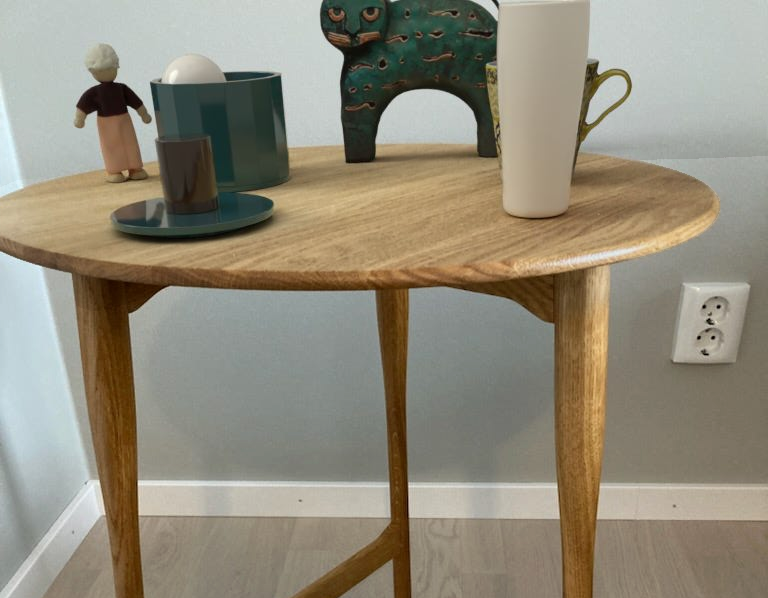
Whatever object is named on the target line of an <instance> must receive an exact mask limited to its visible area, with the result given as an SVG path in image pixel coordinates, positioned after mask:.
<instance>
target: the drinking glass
mask: <svg viewBox="0 0 768 598" xmlns="http://www.w3.org/2000/svg"><path fill="white" fill-rule="evenodd" d="M497 11H498V10H497ZM497 13H498V14H497V21H498V26H497V84H498V102H499V119H500V137H501V155H502V176H503V181H502V203H501V204H502V209H503V211H504V212H505V213H506V214H508V215H511V216H513V217H518V218H527V219H542V218H543V219H545V218H553V217H556V216H557V217H558V216H559V215H562V214H564V213H565V212H566V211H567V210H568V208H569V206H570V198H571V197H570V196H571V182H572V179H571V176H572V168H573V160H574V153H575V146H576V139H577V132H578V124H579V117H580V110H581V103H582V97H583V90H584V83H585V75H586V67H587V58H589V43H590V25H591V24H590V23H591V21H590V20H591V0H523V1H522V0H521V1H507V2H506V1H505V2H500V3H499V11H498V12H497Z"/></svg>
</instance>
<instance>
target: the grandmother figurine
mask: <svg viewBox="0 0 768 598" xmlns="http://www.w3.org/2000/svg"><path fill="white" fill-rule="evenodd" d="M84 66H85V67H86V70H87V71H88V73H90V74H91V76H92V77H93V79H94V80H96V81H97V82H98V83H99V84H95V85H93V86H91V87H89V88H88V89H86V90H85V91H84V92H83V93H82V95H81V96H80V98H79V99H78V101H77V103H76V105H75V107H76V110H75V118H74V119H73V125H74V127H75V128H77V129H83V128H85V124H86V122H85V121H86V120H87V117H88V115H91V114H94V113H96V127H97V133H98V138H99V145H100V150H101V154H102V159H103V162H104V166H105V170H106V175H105V178H104V181H105V182H108V183H122V182H125V181H127V177H125V175H124V174H123V172H125V171H128V177H129V179H131V180H144V179H146V178H147V177H148V172H147V171H146V169H145V168H144V163H143V159H142V158H143V157H142V153H141V149H140V144H139V141H138V137H137V133H136V129H135V126H134V123H133V119H132V116H131V114H130V111H129V108H128V107H130V108H131V109H133V110H134V111H135V112H136V114H137V115H138V116H139V117H140V118H141V119H140V120H141V121H142V123H143V124H145V125H149V124H151V123H152V122H153V117H152V116H151V114H150V113H149V112H148V110H147V107H146V106H145V104H144V101H143V100H142V99H141V98H140V97H139V95H137V93H136V92H135V91H134V89H132V88H131V87H130V86H128V85H127V84H126V83H124V82H117V81H115V80H116V78H117V77H118V69H120V58H119V56H118V54H117V53H116V51H115V49H114V48H113V46H112V45H109V44H108V43H100V42H99V43H97V44H94V45H92V46H91V48H89V49H88V50H87V52H86V54H85V57H84Z"/></svg>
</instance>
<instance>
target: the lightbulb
mask: <svg viewBox="0 0 768 598" xmlns="http://www.w3.org/2000/svg"><path fill="white" fill-rule="evenodd" d="M223 72H224V71H223V70H222V69H221V67H220V66H219V65H218V64H217V63H216V62H215V61H213V60H212V59H210V58H208V57H207V56H204V55H201V54H197V53H188V54H183V55H180V56H178V57H176V58H175V59H173V60H172V61H171V62H170V63H169V64H168V65H167V66H166V68H165V69H164V71H163V74H162V76H161V78H162V81H161V82H162V83H210V82H227V81H226V78H225V76H224V74H223Z"/></svg>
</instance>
